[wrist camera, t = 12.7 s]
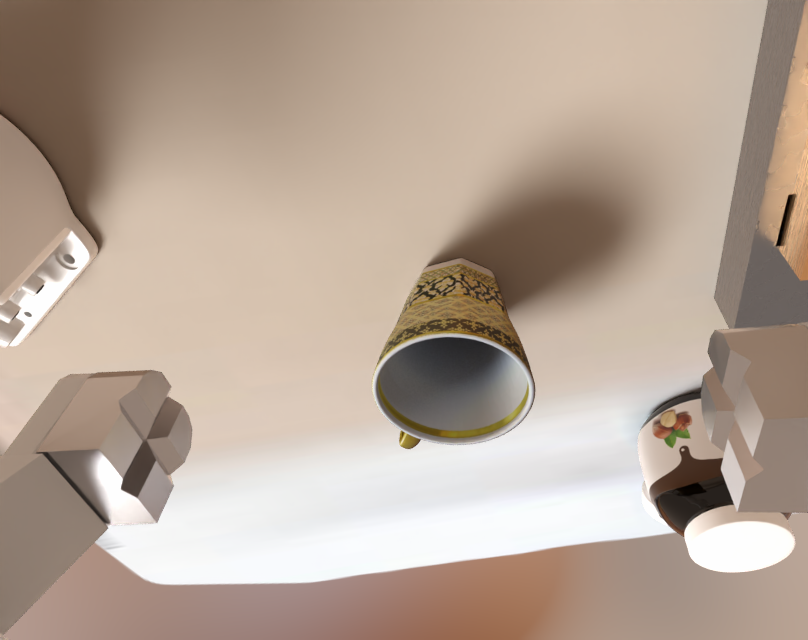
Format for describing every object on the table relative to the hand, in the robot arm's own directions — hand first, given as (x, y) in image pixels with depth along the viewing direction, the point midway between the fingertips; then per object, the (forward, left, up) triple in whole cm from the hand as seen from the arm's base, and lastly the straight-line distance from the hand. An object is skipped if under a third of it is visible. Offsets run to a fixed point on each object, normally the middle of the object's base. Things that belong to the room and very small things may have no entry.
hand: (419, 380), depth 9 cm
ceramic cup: (-18, -13, -29) cm, 37 cm away
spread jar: (-16, -38, -29) cm, 51 cm away
